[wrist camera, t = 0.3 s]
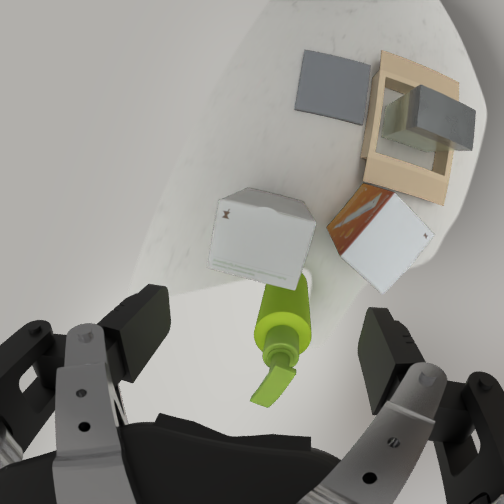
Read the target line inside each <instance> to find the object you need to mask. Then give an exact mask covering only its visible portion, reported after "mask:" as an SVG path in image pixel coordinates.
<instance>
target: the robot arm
mask: <svg viewBox="0 0 504 504" xmlns="http://www.w3.org/2000/svg"><path fill="white" fill-rule="evenodd" d="M170 325H171V317H170V306H169V294H168V289H167V287H165V286H159V285H153V284H148V285H147V286H146V287H144V288H143V289H142V290H141V291H140V292H139V293H138V294H137V293H136V294H134V295H132V296H130V297H128V298H126V299H125V300H123V301H122V302H121V303H120V304H119V305H118V306H117V307H115V308H114V310H112V311H111V312H110V313H109V314H108V315H106V316H105V317H104V318H103V319H102V320H101V321H100V322H99V323H98V324H91V323H87V324H81V325H78V326H75V327H74V328H72V329H71V330H70V331H69V332H68V333H67V335H61V334H53V331H52V328H51V325H50V323H49V322H47V321H44V320H36V321H32V322H29V323H27V324H26V325H24V326H23V327H22V328H21V329H19V330H18V331H17V332H16V333H14V334H13V335H12V336H11V337H9V338H8V339H7V340H6V341H5V342H4V343H2V344H1V345H0V504H393V502H394V500H395V499H396V498H397V496H398V494H399V493H400V491H401V490H402V488H403V486H404V485H405V483H406V481H407V480H408V478H409V476H410V474H411V472H412V471H413V469H414V467H415V465H416V463H417V461H418V459H419V457H420V455H421V453H422V451H423V449H424V447H425V445H426V443H427V441H428V440H430V441H433V442H434V446H435V449H436V454H437V458H438V462H439V466H440V471H441V475H442V480H443V485H444V490H445V495H446V501H447V504H504V391H503V389H502V388H501V386H500V384H499V383H498V381H497V380H496V379H495V378H494V377H493V376H491V375H490V374H488V373H485V372H474V373H472V374H471V375H470V376H469V378H468V379H467V381H466V383H459V382H453V381H447V376H446V374H445V373H444V371H443V370H442V369H441V368H439V367H438V366H436V365H434V364H431V363H426V362H425V360H424V358H423V356H422V354H421V353H420V351H419V349H418V347H417V345H416V344H415V343H414V340H413V339H412V337H411V335H410V333H409V331H408V329H407V328H406V327H405V326H404V325H403V324H401V323H400V322H399V321H394V319H393V317H392V315H391V314H390V312H389V310H388V309H387V308H375V307H369V308H368V310H367V312H366V316H365V320H364V324H363V328H362V331H361V335H360V338H359V343H358V356H359V361H360V364H361V368H362V372H363V376H364V380H365V384H366V388H367V393H368V397H369V401H370V406H371V410H372V415H377V416H376V417H375V419H374V420H373V421H372V423H371V424H370V425H369V427H368V428H367V429H366V431H365V432H364V433H363V435H362V436H361V437H360V439H359V440H358V441H357V442H356V443H355V445H354V446H353V447H352V448H351V450H350V451H349V452H348V453H347V454H346V456H345V457H344V458H343V459H342V460H340V459H338V458H337V457H335V456H333V455H331V454H329V453H327V452H325V451H322V450H319V449H316V448H312V447H311V437H303V436H288V435H276V434H269V435H256V436H240V437H239V436H238V437H232V436H227V435H225V434H222V433H219V432H217V431H215V430H212V429H210V428H207V427H205V426H203V425H201V424H198V423H196V422H194V421H189V420H185V419H180V418H176V417H173V416H169V415H165V414H162V413H159V415H158V417H157V419H156V421H155V422H140V423H132V424H128V420H127V417H126V413H125V409H124V405H123V400H122V397H121V391H120V388H119V385H118V384H119V382H120V381H121V380H124V381H127V382H130V383H134V381H135V380H136V378H137V377H138V375H139V374H140V372H141V371H142V370H143V368H144V367H145V365H146V364H147V362H148V361H149V360H150V358H151V357H152V355H153V354H154V353H155V351H156V350H157V348H158V347H159V346H160V344H161V343H162V341H163V340H164V339H165V337H166V336H167V334H168V333H169V330H170ZM31 366H33V368H34V370H35V372H36V374H37V378H36V379H35V380H34V381H33V382H32V384H31V385H30V386H29V387H28V388H27V389H26V390H25V391H24V392H23V393H22V392H21V390H20V388H19V380H20V378H21V376H22V375H23V374H24V373H25V372H26V371H27V370H28V369H29V368H30V367H31ZM54 411H55V428H56V447H57V450H56V451H53V452H50V453H47V454H43V455H40V456H37V457H33V458H29V459H26V460H22V458H23V453H24V452H25V451H26V449H27V448H28V446H29V445H30V443H31V442H32V440H33V439H34V438H35V436H36V435H37V434H38V432H39V431H40V429H41V428H42V427H43V425H44V424H45V423H46V421H47V420H48V419H49V417H50V416H51V415H52V413H53V412H54ZM475 429H476V431H477V434H478V437H479V439H480V444H481V445H480V451H479V453H477V450H476V447H475V445H474V441H473V439H472V436H471V434H472V432H473V431H474V430H475Z"/></svg>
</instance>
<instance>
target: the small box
mask: <svg viewBox="0 0 504 504" xmlns="http://www.w3.org/2000/svg"><path fill="white" fill-rule="evenodd" d="M327 230H328V232H329V234H330V236H331V238H332V240H333V242H334V244H335V247H336V249H337V251H338V253H339V255H340V257H341V258H342V259H343V260H344V261H346V262H347V263H348V264H349V265H350V266H351V267H352V268H353V269H354V270H356V271H357V272H358V273H359V274H360V275H361V276H362V277H363V278H364V279H365V280H366V281H368V282H369V283H370V284H371V285H372V286H373V287H374V288H375V289H376V290H377V291H378V292H379V293H381V294H384V293H385V292H386V291H387V290H388V289H389V288H390V287H391V286H392V285H393V284H394V283H395V282H396V281H397V280H398V278H399V277H400V276H401V275H402V274H403V273H404V272H405V271H406V270H407V269H408V268H409V267H410V266H411V265H412V264H413V263H414V261H415V260H416V259H417V257H418V256H419V255H420V253H421V252H422V251H423V250H424V248H425V247H426V246H427V245H428V243H429V242H430V241H431V240H432V238H433V237H434V236H435V234H434V233H433V232H432V231H431V230H430V229H429V228H428V227H427V225H426V224H425V223H424V222H423V221H422V220H421V219H420V218H419V217H418V216H417V215H416V214H415V213H414V212H413V211H412V210H411V208H410V207H409V206H408V205H407V204H406V203H405V202H404V201H403V200H402V199H401V198H400V197H399V196H398V195H397V194H396V193H395V192H392V191H389V190H385V189H382V188H379V187H375V186H372V185H368V184H365V183H363V184H362V185H361V186H360V188H359V189H358V190H357V192H356V193H355V194H354V196H353V197H352V198H351V199H350V200H349V202H348V203H347V204H346V205H345V206H344V208H343V209H342V210H341V211H340V212H339V214H338V215H337V216H336V217H335V218H334V219H333V221H332V222H331V223H330V224H329V225H328V226H327Z"/></svg>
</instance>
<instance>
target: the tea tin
mask: <svg viewBox="0 0 504 504" xmlns="http://www.w3.org/2000/svg"><path fill="white" fill-rule="evenodd" d="M475 114H476V111H475V110H474V109H472V108H470V107H468V106H466V105H464V104H462V103H460V102H459V101H457V100H455V99H453V98H450V97H448V96H446V95H444V94H442V93H440V92H438V91H435V90H433V89H431V88H429V87H426V86H424V85H421V84H420V85H419V86H417V87H415V88H414V89H412V90H410V92H408V93H407V94H405V95H404V96H402V97H400V98H399V99H397V100H395V101H394V102H392V103H391V104H389V105H387V106H386V108H385V116H384V123H383V130H382V136H381V137H383V138H387V139H390V140H393V141H396V142H399V143H402V144H405V145H408V146H410V147H413V148H416V149H419V150H421V151H424V152H434V151H454V150H457V151H472V148H473V139H474V129H475Z"/></svg>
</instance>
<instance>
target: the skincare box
mask: <svg viewBox="0 0 504 504" xmlns="http://www.w3.org/2000/svg"><path fill="white" fill-rule="evenodd" d="M315 227H316V221H315V220H314V218H313V216H312V215H311V213H310V212H309V210H308V208H307V207H306V205H305V203H304V202H302V201H300V200H296V199H293V198H289V197H285V196H281V195H277V194H273V193H269V192H265V191H261V190H256V189H251V188H245V189H243V190H241V191H239V192H236V193H234V194H232V195H230V196H227V197H225V198H223V199H219V200H218V206H217V211H216V216H215V222H214V227H213V233H212V239H211V245H210V252H209V258H208V264H207V268H209V269H213V270H216V271H220V272H224V273H228V274H231V275H235V276H239V277H242V278H246V279H250V280H254V281H258V282H262V283H266V284H269V285H273V286H278V287H282V288H286V289H290V290H295V289H296V287H297V284H298V281H299V279H300V276H301V273H302V270H303V267H304V263H305V260H306V257H307V254H308V251H309V247H310V244H311V241H312V237H313V234H314V230H315Z"/></svg>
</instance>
